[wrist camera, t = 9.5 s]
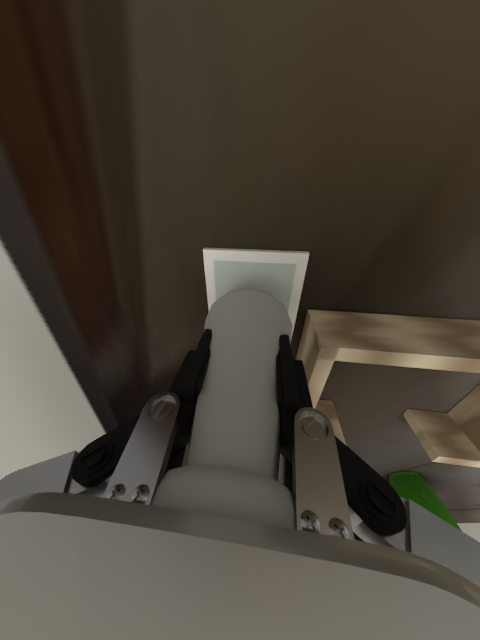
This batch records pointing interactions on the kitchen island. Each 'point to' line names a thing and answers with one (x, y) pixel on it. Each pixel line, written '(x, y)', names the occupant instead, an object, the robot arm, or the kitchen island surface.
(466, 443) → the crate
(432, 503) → the cup
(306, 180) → the kitchen island surface
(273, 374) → the salt shaker
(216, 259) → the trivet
